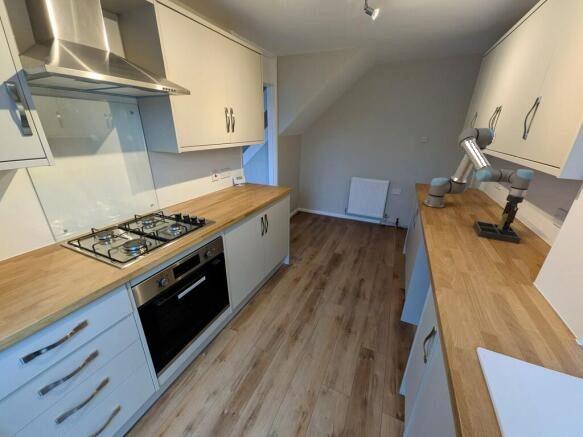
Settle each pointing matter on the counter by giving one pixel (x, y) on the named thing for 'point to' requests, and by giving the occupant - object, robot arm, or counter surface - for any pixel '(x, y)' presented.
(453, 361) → the counter surface
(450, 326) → the counter surface
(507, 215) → the cork
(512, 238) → the grid
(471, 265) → the counter surface
